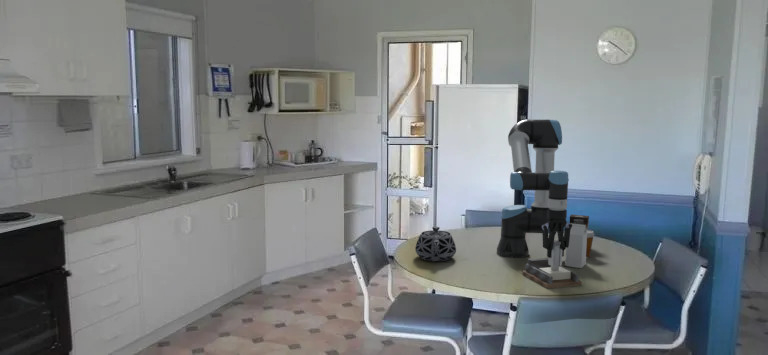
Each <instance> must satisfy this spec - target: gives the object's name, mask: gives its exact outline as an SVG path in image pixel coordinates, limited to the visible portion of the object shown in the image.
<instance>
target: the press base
mask: <svg viewBox="0 0 768 355" xmlns="http://www.w3.org/2000/svg"><path fill="white" fill-rule="evenodd" d="M548 258H549V257H539V258H536V257H535V258H528V259H527V263H525V270H522V272H521V274H522V275H523V276H525V277H526V278H529V279H530V280H532V281H533V282H535V283H537V284H539V285H540V286H542V287H544V288H545V289H552V288H553V289H554V288H564V287H573V286H582V284H583V281H581V280H580V278H579V276H580V274H579V273H577V272H575V271H572V270H570V269H569V268H567V267H564V266H563V265H559V266H560V267H562V268H564V269H566V270H568V271H570V272H571V278H570V279H562V280H553V277H552V276H550V275H548V274H546V273H545V272H543V271H541V270H539V268H547V267H551V265H549V264H548Z"/></svg>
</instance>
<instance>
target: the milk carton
mask: <svg viewBox="0 0 768 355" xmlns="http://www.w3.org/2000/svg"><path fill="white" fill-rule="evenodd" d="M569 224H571V223H570V222H569ZM586 246H587V230H586V225H580V224H572V228H571V230H570V239H569V247H568V248H567V247H566V249H565V252H566V253H565V266H566V267H571V268H579V269H582V268H583V267H584V266H585V265H586V264H587V261H586V260H587V257H586Z"/></svg>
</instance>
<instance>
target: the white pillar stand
mask: <svg viewBox="0 0 768 355" xmlns="http://www.w3.org/2000/svg"><path fill="white" fill-rule="evenodd" d="M560 245H561V242H560V241H558V239H557V240H555V239H554V243H553V248H552V250H554V262H553V266H551V267H547V268H539V270H541V271H543V272H545V273H546V274H548V275H550V276H552V277H553V280H562V279H570V278H571V272H570V271H568V270H566V269H564V268H562V267H560V266H559V254H560Z"/></svg>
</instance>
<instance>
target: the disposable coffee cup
mask: <svg viewBox="0 0 768 355" xmlns="http://www.w3.org/2000/svg"><path fill="white" fill-rule="evenodd" d="M594 236H595V232H594V231H593V230H592V229H588V230H587V246H586V258H589V257H591V251H592V245H593V239H594Z"/></svg>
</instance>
